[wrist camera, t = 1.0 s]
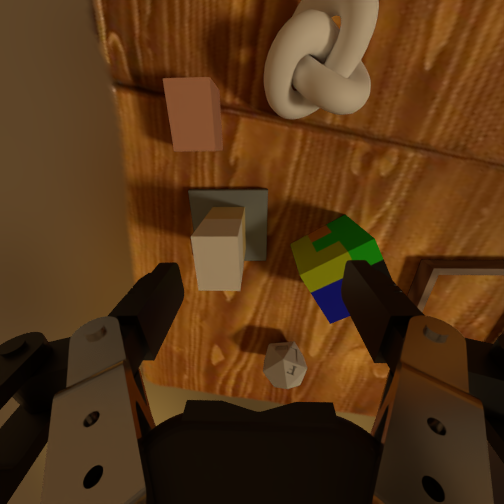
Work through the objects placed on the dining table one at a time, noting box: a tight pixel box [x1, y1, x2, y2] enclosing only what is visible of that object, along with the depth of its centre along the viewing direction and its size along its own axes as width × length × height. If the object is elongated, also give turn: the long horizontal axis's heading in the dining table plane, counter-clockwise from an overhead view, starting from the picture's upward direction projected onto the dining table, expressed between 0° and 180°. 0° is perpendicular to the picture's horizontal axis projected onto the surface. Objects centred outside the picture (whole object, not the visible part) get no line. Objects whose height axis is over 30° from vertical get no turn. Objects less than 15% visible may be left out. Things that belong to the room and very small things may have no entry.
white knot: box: [264, 0, 379, 119], centre depth 23 cm, size 11×12×9 cm
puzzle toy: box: [290, 215, 392, 324], centre depth 33 cm, size 10×10×10 cm
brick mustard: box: [204, 207, 246, 265], centre depth 32 cm, size 7×5×6 cm
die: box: [263, 342, 307, 389], centre depth 44 cm, size 8×9×10 cm
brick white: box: [191, 219, 243, 291], centre depth 27 cm, size 7×5×6 cm
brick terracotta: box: [163, 77, 223, 151], centre depth 27 cm, size 7×5×6 cm
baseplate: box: [188, 189, 268, 261], centre depth 36 cm, size 12×12×1 cm
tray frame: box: [407, 260, 504, 335], centre depth 42 cm, size 25×23×3 cm
